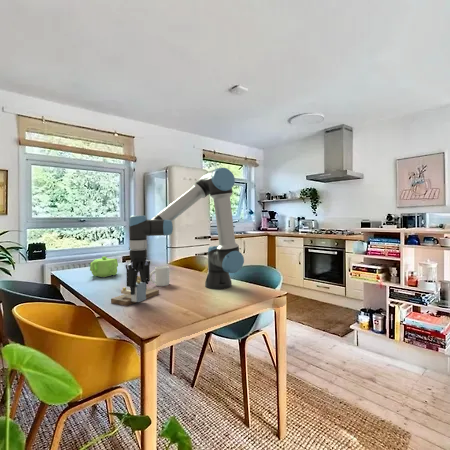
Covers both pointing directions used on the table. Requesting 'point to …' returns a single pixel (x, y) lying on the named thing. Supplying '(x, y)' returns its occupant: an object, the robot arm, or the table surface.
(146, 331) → the table surface
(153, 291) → the board
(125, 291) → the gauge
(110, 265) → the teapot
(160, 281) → the mug
